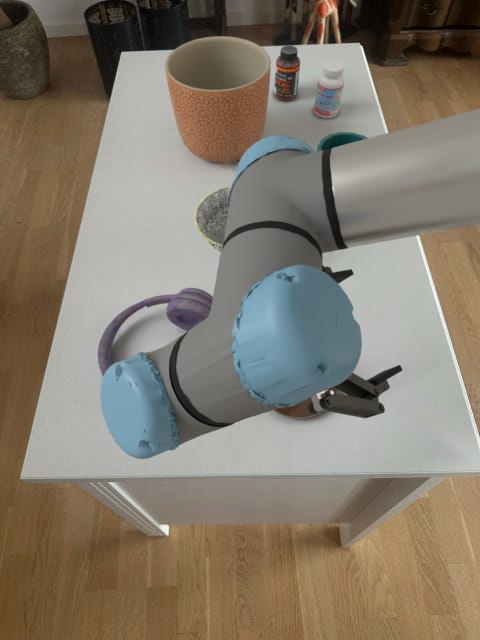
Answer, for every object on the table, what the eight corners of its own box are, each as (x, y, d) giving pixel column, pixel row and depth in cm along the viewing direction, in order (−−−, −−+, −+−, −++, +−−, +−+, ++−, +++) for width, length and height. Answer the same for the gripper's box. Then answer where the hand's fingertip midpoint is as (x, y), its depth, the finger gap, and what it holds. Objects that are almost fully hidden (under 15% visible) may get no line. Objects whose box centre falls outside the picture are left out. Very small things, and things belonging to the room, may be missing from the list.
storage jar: (375, 205, 91) (389, 162, 82) (323, 218, 89) (331, 175, 81) (352, 170, 97) (362, 127, 88) (302, 181, 95) (308, 138, 87)
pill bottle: (308, 112, 109) (314, 65, 100) (324, 102, 112) (331, 55, 102) (327, 122, 107) (335, 75, 97) (343, 111, 109) (352, 65, 100)
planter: (283, 158, 100) (289, 73, 84) (198, 186, 95) (188, 102, 79) (243, 111, 110) (242, 27, 94) (165, 134, 105) (150, 50, 89)
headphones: (216, 296, 78) (108, 327, 79) (205, 267, 71) (87, 303, 72) (239, 388, 69) (116, 424, 69) (229, 366, 62) (92, 406, 62)
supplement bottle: (271, 100, 112) (273, 54, 103) (276, 88, 115) (278, 41, 106) (295, 103, 111) (299, 56, 102) (298, 90, 115) (303, 44, 105)
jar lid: (350, 406, 67) (362, 382, 60) (271, 430, 66) (273, 408, 58) (318, 337, 74) (325, 308, 67) (245, 357, 72) (245, 330, 65)
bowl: (240, 288, 80) (239, 261, 74) (181, 244, 86) (176, 215, 80) (297, 241, 86) (300, 212, 80) (238, 202, 92) (237, 173, 86)
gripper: (190, 267, 47) (306, 253, 62) (288, 493, 43) (388, 420, 58) (231, 228, 42) (347, 223, 57) (348, 481, 38) (440, 404, 52)
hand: (368, 322), depth 57 cm, fingers open, 13 cm apart
